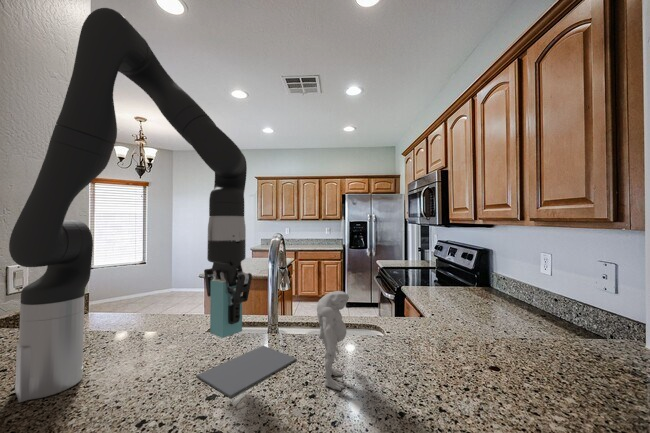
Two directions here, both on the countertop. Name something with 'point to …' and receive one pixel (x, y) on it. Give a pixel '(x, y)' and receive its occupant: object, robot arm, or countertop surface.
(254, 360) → the rubber mat
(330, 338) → the figurine
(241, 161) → the robot arm
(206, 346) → the countertop surface
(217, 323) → the teal block
